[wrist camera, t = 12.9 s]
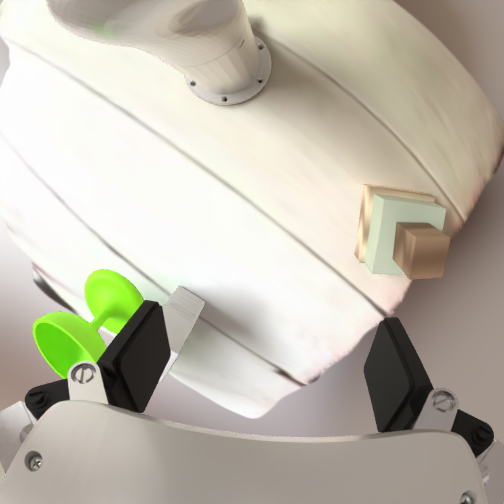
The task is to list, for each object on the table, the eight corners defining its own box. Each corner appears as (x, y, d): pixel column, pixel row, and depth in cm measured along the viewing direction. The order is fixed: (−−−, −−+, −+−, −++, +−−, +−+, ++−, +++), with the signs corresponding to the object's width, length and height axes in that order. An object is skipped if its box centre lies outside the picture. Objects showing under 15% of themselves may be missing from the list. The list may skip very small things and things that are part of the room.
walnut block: (396, 222, 31) (416, 237, 25) (427, 222, 30) (450, 237, 24) (392, 258, 32) (409, 279, 27) (423, 257, 32) (442, 277, 26)
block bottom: (362, 183, 37) (370, 187, 33) (423, 192, 36) (435, 197, 32) (353, 252, 41) (359, 262, 37) (411, 256, 40) (421, 266, 36)
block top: (374, 193, 33) (384, 199, 30) (432, 202, 33) (446, 208, 29) (364, 261, 37) (371, 273, 34) (420, 264, 36) (431, 276, 33)
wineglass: (79, 263, 47) (21, 308, 31) (143, 276, 46) (88, 335, 30) (93, 325, 54) (51, 375, 37) (152, 342, 52) (115, 404, 36)
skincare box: (189, 329, 50) (162, 385, 36) (162, 312, 49) (128, 365, 35) (207, 299, 46) (181, 357, 33) (178, 281, 46) (141, 333, 32)
